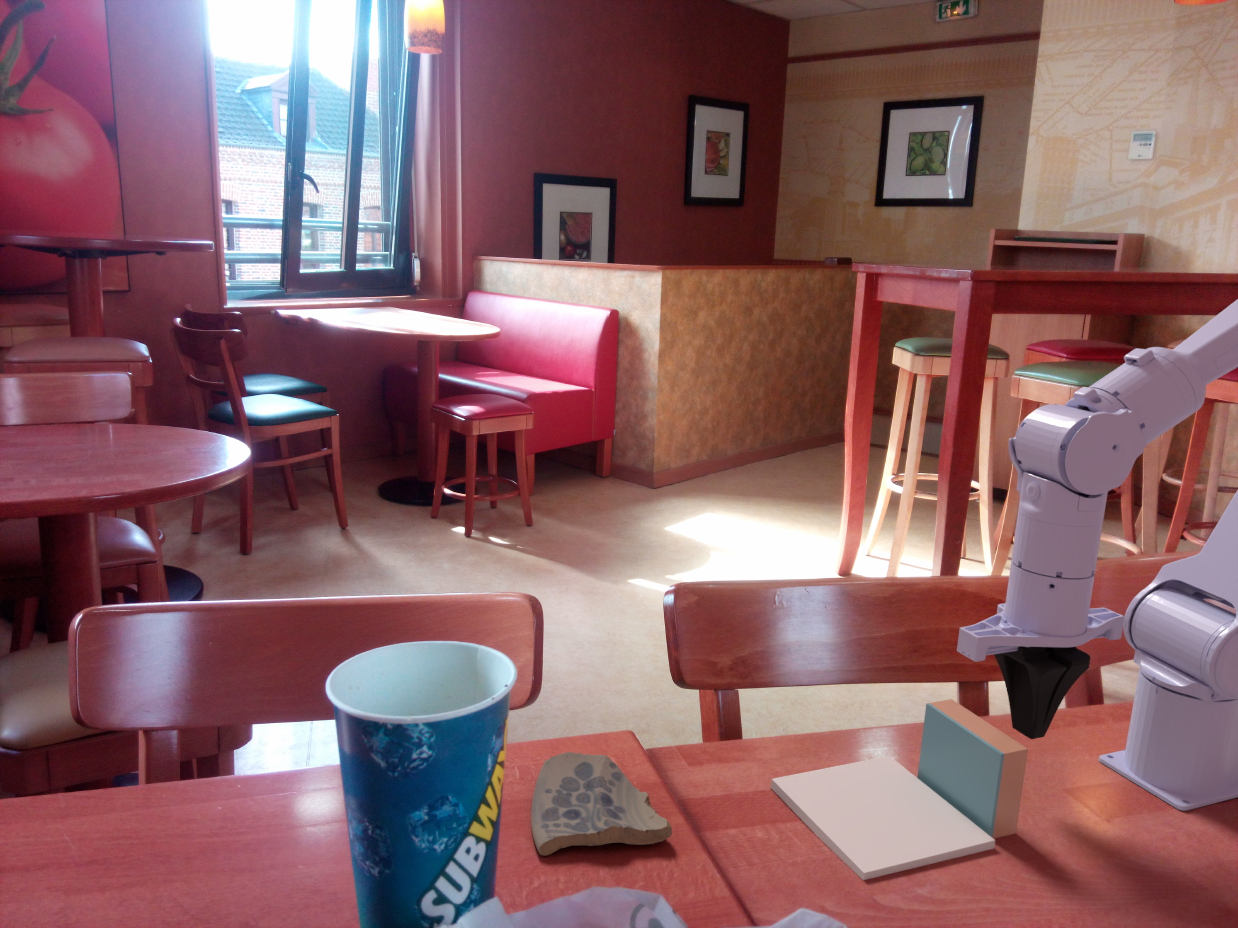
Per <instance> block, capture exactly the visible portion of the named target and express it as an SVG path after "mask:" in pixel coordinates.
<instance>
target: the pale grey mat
mask: <svg viewBox="0 0 1238 928" xmlns="http://www.w3.org/2000/svg"><path fill="white" fill-rule="evenodd" d="M917 777H918V776H916V775H914V774H913V772H912V773H911V772H910V771H909V770H908V769H907V768H906V767H904V766H903V765H902V764H901V763H899V762H898V761H897V760H895V759H894V758H893V757H892V756H891V755H886V756H882V757H881V756H880V757H877V758H876V757H874V758H871V759H865V760H860V761H856V762H851V763H845V764H840V765H833V766H830V767H825V768H821V769H816V770H815V769H814V770H809V771H804V772H799V773H795V774H789V775H783V776H779V777H774V778H771V783H770V789H772V791H773V792H775V794H776V795H777V796H778V797H779V798H780V799H781V800H782V802H784V803H785V804H786V806H788V807H789V808H790V809H791V810H792V811H793V813H794V814H796V816H797V817H798V818H799V819H800V820H801V821H802V822H803V823H804V824H805V825H806V826H807V827H808V829H810V830H811V831H812V832H813V833H814V834H815V835H816V837H818V839H820V841H822V842H823V843H824V844H825V845H826V846H827V847H828V848H829V849H830V850H831V851H833V853H834V854H835V855H836V856H837V857H838V858H839V859H840V860H841V861H842V862H843V863H845V865H847V867H849V869H850V870H852V872H854V874H856V875H857V876H858V877H859V878H860V879H861V880H862V881H866V880H869V879H870V880H871V879H874V878H879V877H883V876H886V875H890V874H891V875H892V874H894V873H895V874H896V873H898V872H903V871H906V870H907V871H908V870H911V869H915V868H920V867H923V866H928V865H931V864H936V863H939V862H945V861H949V860H953V859H957V858H961V857H965V856H970V855H974V854H978V853H981V852H985V851H989V850H994V849H995V845H996V839H995V838H994V839H993V838H992V837H991V836H989V835H988V834H987V833H986V832H984V831H983V830H982V829H981V828H979V827H978V826H977V825H976V824H974V823H973V822H972V821H971V820H969V819H968V818H967V817H966V816H964V815H963V814H962V813H960V812H959V811H958V810H957V809H955V808H954V807H953V806H952V805H950V804H949V803H948V802H947V801H945V800H944V799H943V798H942V797H940V796H939V795H938V794H937V793H935V792H934V791H933V790H932V789H930V788H929V787H928V786H927V785H925V784H924V783H923V782H922V781H920V780H919V779H918V778H917Z"/></svg>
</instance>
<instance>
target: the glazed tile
mask: <svg viewBox="0 0 1238 928" xmlns="http://www.w3.org/2000/svg"><path fill="white" fill-rule="evenodd" d="M924 711H925V713H924V719H923V727H922V728H923V729H922V735H921V743H920V744H921V745H920V754H919V761H918V770H917V776H916V777H917V778H918V779H919V780H920V781H922V782H923V783H924V784H925V785H927V786H928V787H929V788H930V789H932V790H933V791H934V792H935V793H937V794H938V795H939V796H940V797H942V798H943V799H944V800H945V801H947V802H948V803H949V804H950V805H952V806H953V807H954V808H955V809H957V810H958V811H959V812H960V813H962V814H963V815H964V816H966V817H967V818H968V819H969V820H971V821H972V822H973V823H974V824H976V825H977V826H978V827H979V828H981V829H982V830H983V831H984V832H986V833H987V834H988V835H989V836H991V837H992V838H993V839H994V840H995V839H997V838H1003V837H1006V836H1010V835H1014V834H1015V835H1016V834H1017V827H1018V822H1019V820H1018V819H1019V813H1020V807H1021V802H1022V801H1021V799H1022V792H1023V787H1024V779H1025V774H1026V767H1027V761H1028V754H1029V753H1028V752H1029V748H1027V747H1026V746H1025V745H1023V744H1021V743H1020V742H1019V741H1017V740H1016V739H1014V738H1012V737H1010V736H1009V735H1008V734H1006V733H1004V732H1003V731H1001V730H1000V729H999V728H997V727H995V726H994V725H992V724H991V723H989V722H988V721H986V720H985V719H983V718H981V717H980V716H979V715H977V714H975V713H973V712H972V711H971V710H969V709H968V708H966V707H965V706H964V705H961V704H960V703H958V702H957V701H955V700H954V699H952V698H951V699H946V700H938V701H933V702H928V703H926V704H925V710H924Z"/></svg>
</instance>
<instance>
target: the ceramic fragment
mask: <svg viewBox="0 0 1238 928" xmlns="http://www.w3.org/2000/svg"><path fill="white" fill-rule="evenodd" d="M530 807H531V808H530V809H531V810H530V825H531V832H532V838H533V842H534V844H535V847H536V849H537V852H538V853H539V855H541V856H544V857H545V856H550V855H552V854H553V853H555V852H557V851H558V850H560V849H565V848H567V847H568V848H569V847H572V846H589V847H591V846H592V847H593V846H604V845H607V844H612V843H615V844H616V843H623V844H626V845H643V846H644V845H654V844H655V843H660V842H663V841H665V840H667V839H669V838H670V837H671V836H672V835H673V829H672V828H673V827H672V825H671V824H670V822H669V820H668V819H667V818H665V817H662V816H661V815H659V814H658V813H657V810H656V809H654V808H653V806H652V804H651V799H650V797H649V794H648V793H647V792H646V791H640V789H639V788H637V787H635V786H634V785H633V784H632V782H631V781H630V780H629V779H628V777H627V775H626V774H625V773H623V771H622V770H621V768H620V767H619V766H618V765H617V764H616V762H614V761H613V759H611V758H610V757H609V756H608V755H606V754H589V753H585V754H584V753H581V752H572V751H566V752H562V753H559V754H556V755H554V756H551V757H550V758H549V759H548V758H547V759H546V760H544V762H543V764H542V766H541V769H540V772H539V774H538V777H537V779H536V782H535V787H534V791H533V794H532V801H531V806H530Z"/></svg>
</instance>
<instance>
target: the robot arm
mask: <svg viewBox="0 0 1238 928" xmlns="http://www.w3.org/2000/svg"><path fill="white" fill-rule="evenodd" d="M1123 360H1124V363H1122V364H1121V365H1120V366H1118V367H1117V368H1115V369H1114V370H1112V371H1111V372H1109V373H1108V374H1106V375H1104V376H1103V377H1102V378H1100V379H1099V380H1097V381H1096V382H1094V383H1092V384H1091V385H1090V386H1082V387H1081V388H1079V389H1078V390H1076V391H1074V393H1073V397H1072V398H1069V400H1068V401H1067V402H1065V404H1060V403H1054V404H1053V403H1049V404H1045V405H1041V406H1039V407H1038V408H1035V410H1033V411H1032V412H1030V413H1029V414H1028V415H1027V416H1026V417H1025V418H1024V419H1023V420H1022V421H1021V422H1020V424H1019V426H1018V428H1017V430H1016V432H1015V436H1014V437H1010V438H1009V439H1008V444H1007V445H1008V448H1007V449H1008V454H1009V455H1008V456H1009V458H1010V461H1011V463H1012V466H1013V467H1014V468H1015V470H1016V473H1017V482H1016V490H1015V491H1016V492H1018V495H1019V503H1018V510H1017V518H1016V523H1015V524H1016V525H1015V532H1014V539H1013V547H1012V552H1011V561H1010V568H1009V576H1008V583H1007V591H1006V597H1005V602H1004V603H999V604H997V608H996V609H997V610H996V614H994V615H992V616H990V617H988V618H986V619H982V620H981V621H979V622H977V623H975V624H971V625H967V626H961V627H959V631H958V632H959V633H958V638H957V639H958V640H957V646H956V652H958V653H960V654H961V655H963V656H964V657H966V658H968V659H969V660H972V661H973V662H982V661H983V662H984V661H985V660H986V657H987V656H991V655H993V656H994V658H995V659H996V660H995V661H996V662H997V665H998V666H999V669H1000V672H1001V674H1002V678H1003V681H1004V685H1005V688H1006V693H1007V698H1008V705H1009V711H1010V719H1011V724H1012V729H1014V730H1016V731H1017V732H1018V733H1020V734H1022V735H1023V736H1025V737H1026V738H1028V739H1029V740H1035V739H1041V738H1044V737H1045V736H1046V734H1047V732H1048V730H1049V728H1050V726H1051V724H1052V722H1053V719H1054V718H1055V715H1056V713H1057V711H1058V709H1059V708H1060V705H1061V704H1062V701H1063V700H1064V698H1065V696H1066V695H1067V694H1068V692H1069V691H1070V689H1071V688H1072V687H1073V686H1074V684H1075V683H1076V682H1077V681H1078V679H1079V678H1080V677H1081V676H1082V675H1083V674H1084V673H1085V672H1086V671H1087V670H1089V668H1090V664H1091V658H1092V657H1091V656H1090V654H1088V653H1087V652H1085V651H1083V650H1081V649H1079V648H1078V647H1080V646H1083V645H1085V644H1086V643H1088V642H1089V641H1091V640H1094V639H1101V638H1105V639H1107V640H1109V641H1115V640H1121V639H1122V637H1123V635H1124V637H1125V640H1126V642H1127V643H1128V644H1129V646H1131V648H1132V649H1134V656H1133V663H1135V664H1137V666H1138V667H1139V670H1138V675H1137V680H1136V687H1135V692H1134V699H1133V704H1132V710H1131V715H1130V720H1129V721H1130V722H1129V727H1128V732H1127V738H1126V746H1125V749H1124V750H1123V749H1122V750H1118V751H1113V752H1110V753H1105V754H1100V755H1099V757H1098V761H1099V762H1100V763H1101V764H1102V765H1105V766H1106V768H1107V767H1108V769H1109V768H1110V769H1111V770H1113V772H1116V773H1117V774H1119V775H1121V776H1123V778H1126V779H1127V780H1129V781H1131V782H1133V783H1134V784H1136V785H1137V786H1139V787H1141V788H1142V789H1144V790H1145V791H1147V792H1148V793H1150V794H1152V795H1154V796H1155V797H1157V798H1158V799H1160V800H1162V801H1163V802H1165V803H1166V804H1168V805H1170V806H1172V807H1173V808H1175V809H1176V810H1179V811H1183V812H1186V811H1190V810H1193V809H1199V808H1202V807H1207V806H1209V805H1213V804H1217V803H1220V802H1224V801H1229V800H1233V799H1236V798H1238V489H1236V490H1237V491H1236V492H1235V493H1234V495H1233V497H1232V499H1231V500H1230V502H1229V503H1228V505H1227V506H1226V508H1225V510H1224V512H1223V513H1222V515H1221V516H1220V519H1219V520H1218V522H1217V524H1216V526H1215V527H1214V528H1213V531H1212V532H1211V534H1210V535H1209V537H1208V538H1207V540H1206V541H1205V544H1204V545H1203V546H1202V548H1201V550H1200V552H1199V553H1197V554H1195V555H1192V556H1188V557H1186V558H1181V559H1178V560H1175V561H1171V562H1169V563H1167V564H1163V565H1162V566H1161V568H1160V570H1159V572H1158V573H1157V575H1156V576H1155V578H1154V579H1153V580H1152V582H1150V584H1149V585H1147V586H1146V587H1145V588H1143V589H1142V590H1140V592H1138V593H1137V594H1136V595H1135V596H1134V597H1133V599H1132V600H1131V601H1130V603H1129V605H1128V607H1127V609H1126V611H1125V614H1124V615H1123V614H1120V613H1117V611H1116V612H1115V611H1114V610H1111V609H1109V608H1106V607H1098V608H1097V607H1095V608H1093V607H1092V608H1091V601H1092V594H1093V588H1094V581H1095V574H1096V568H1097V562H1098V555H1099V548H1100V543H1101V537H1102V531H1103V523H1104V519H1105V518H1104V517H1105V512H1106V511H1105V510H1106V505H1107V499H1108V493H1109V492H1110V491H1112V490H1113V489H1117V488H1119V487H1120V486H1122V484H1123V483H1124V482H1125V481H1126V479H1127V478H1128V476H1129V475H1130V473H1131V471H1132V469H1133V468H1134V467H1133V466H1134V465H1135V462H1136V460H1137V458H1138V457H1140V456H1141V455H1142V454H1143V453H1144V450H1145V448H1146V449H1147V445H1149V444H1150V443H1152V442H1153V441H1155V440H1157V439H1158V438H1159V437H1161V436H1162V435H1163V434H1165V433H1167V432H1168V431H1170V430H1171V429H1172V428H1174V427H1176V425H1178V424H1181V423H1182V422H1183V421H1184V420H1186V419H1187V418H1189V417H1190V416H1192V415H1193V414H1195V413H1196V412H1198V411H1199V410H1201V408H1202V406H1203V405H1204V403H1205V399H1206V394H1207V385H1209V384H1211V383H1212V382H1214V381H1216V380H1218V379H1220V378H1221V377H1223V376H1225V375H1227V374H1228V373H1230V372H1231V371H1234V370H1235V369H1237V368H1238V298H1237V299H1236V300H1235V301H1234V302H1232V303H1231V304H1230V305H1228V306H1227V307H1226V308H1224V309H1223V310H1222V311H1221V312H1219V313H1218V314H1216V315H1215V316H1214V317H1213V318H1211V319H1210V320H1209V321H1208V322H1206V323H1205V324H1204V325H1203V326H1201V327H1200V328H1199V329H1196V331H1195V332H1194V333H1192V334H1191V335H1190V336H1188V337H1187V338H1186V339H1184V340H1183V341H1182V342H1181V343H1179V344H1178V345H1177V346H1176V347H1174V348H1173V349H1170V348H1166V347H1161V346H1152V347H1148V348H1137V347H1136V348H1134V349H1133V350H1131V351H1130V352H1128V353H1126V354H1125V355H1124V356H1123ZM1207 600H1211V601H1215V602H1218V603H1220V604H1223V605H1225V606H1227V607H1230V608H1232V609H1233V610H1235V613H1234V612H1232V611H1229V610H1227V609H1226V608H1223V607H1221V606H1218V605H1216V604H1214V603H1212V602H1210V601H1207Z"/></svg>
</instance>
